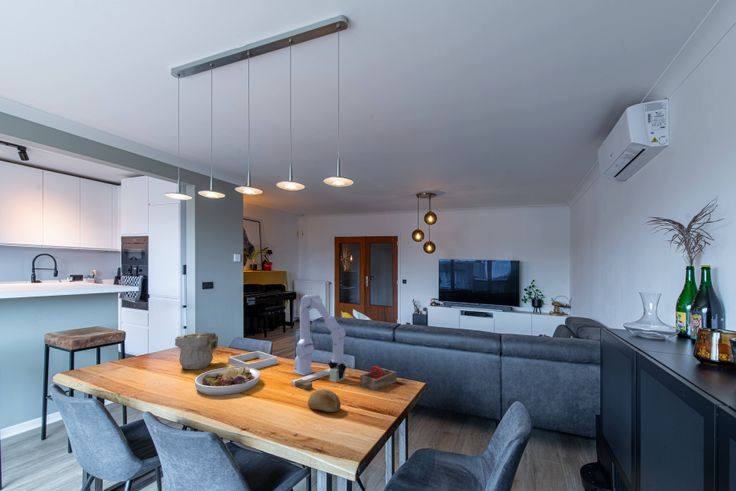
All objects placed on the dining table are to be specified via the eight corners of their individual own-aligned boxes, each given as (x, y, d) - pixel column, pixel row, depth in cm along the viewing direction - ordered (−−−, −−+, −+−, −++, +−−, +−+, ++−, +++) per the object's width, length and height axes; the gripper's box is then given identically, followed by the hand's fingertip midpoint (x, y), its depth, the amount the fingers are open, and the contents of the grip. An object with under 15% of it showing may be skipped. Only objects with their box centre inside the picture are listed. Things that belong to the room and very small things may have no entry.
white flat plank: (291, 383, 168) (291, 380, 168) (330, 370, 190) (330, 368, 190) (296, 385, 165) (296, 382, 165) (335, 372, 187) (335, 369, 187)
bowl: (185, 385, 164) (185, 369, 164) (242, 372, 186) (243, 358, 186) (209, 403, 143) (210, 385, 144) (271, 386, 165) (271, 370, 166)
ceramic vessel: (184, 345, 210) (209, 315, 209) (211, 371, 206) (236, 340, 206) (157, 353, 187) (185, 320, 187) (186, 383, 184) (215, 349, 183)
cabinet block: (329, 380, 174) (329, 369, 174) (338, 377, 179) (339, 366, 180) (335, 382, 171) (336, 370, 171) (345, 379, 176) (345, 367, 177)
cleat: (294, 386, 165) (294, 381, 165) (301, 384, 168) (301, 379, 168) (305, 390, 159) (306, 385, 159) (312, 388, 162) (312, 383, 163)
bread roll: (334, 417, 132) (334, 397, 132) (302, 411, 137) (302, 391, 138) (344, 408, 141) (344, 389, 141) (314, 402, 146) (314, 384, 147)
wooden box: (360, 385, 167) (360, 375, 167) (380, 377, 180) (380, 367, 181) (376, 390, 160) (376, 380, 161) (396, 381, 174) (396, 371, 174)
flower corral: (228, 363, 199) (228, 357, 200) (257, 357, 215) (258, 350, 216) (247, 371, 186) (247, 364, 186) (277, 363, 202) (277, 356, 202)
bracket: (366, 382, 171) (367, 367, 171) (369, 379, 175) (370, 364, 175) (387, 388, 166) (388, 372, 166) (390, 385, 170) (391, 369, 170)
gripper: (323, 350, 177) (322, 375, 177) (342, 355, 168) (342, 382, 168) (332, 347, 183) (331, 372, 182) (351, 352, 174) (351, 378, 173)
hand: (337, 377), depth 175 cm, fingers closed on cabinet block, 4 cm apart
